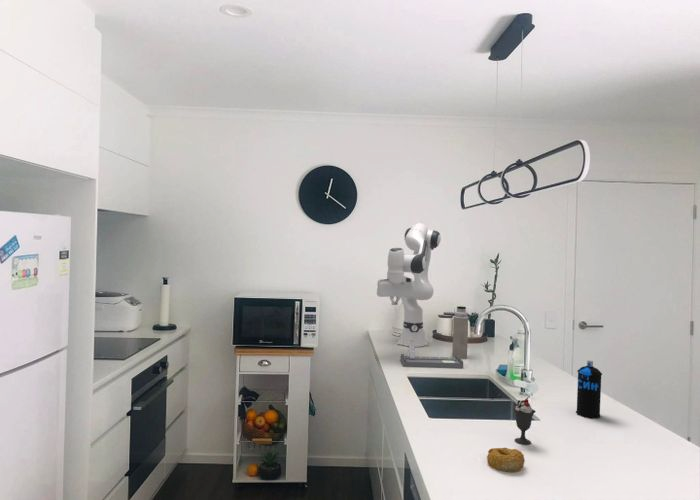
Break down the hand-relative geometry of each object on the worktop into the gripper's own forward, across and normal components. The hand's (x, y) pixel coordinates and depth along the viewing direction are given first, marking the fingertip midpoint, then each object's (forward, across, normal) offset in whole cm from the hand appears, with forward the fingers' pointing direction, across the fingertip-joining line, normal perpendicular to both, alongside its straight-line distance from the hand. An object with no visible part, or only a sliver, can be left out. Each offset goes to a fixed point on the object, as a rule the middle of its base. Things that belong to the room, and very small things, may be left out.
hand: (394, 305), depth 253 cm
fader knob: (+26, +6, -9) cm, 28 cm away
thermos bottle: (+30, +40, -3) cm, 49 cm away
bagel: (+30, -28, -118) cm, 125 cm away
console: (+29, +15, -13) cm, 35 cm away
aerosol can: (+30, +31, -95) cm, 104 cm away
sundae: (+30, -11, -107) cm, 111 cm away
